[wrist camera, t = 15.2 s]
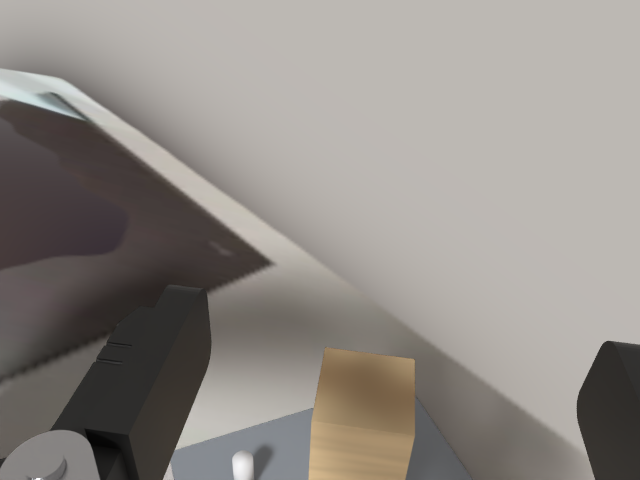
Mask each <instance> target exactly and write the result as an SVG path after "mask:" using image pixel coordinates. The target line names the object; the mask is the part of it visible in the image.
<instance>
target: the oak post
mask: <svg viewBox="0 0 640 480" xmlns="http://www.w3.org/2000/svg"><path fill="white" fill-rule="evenodd" d="M414 438H415V359H410V358H402V357H395V356H387V355H380V354H372V353H364V352H357V351H349V350H342V349H334V348H327V347H325V351H324V356H323V361H322V367H321V372H320V377H319V383H318V388H317V394H316V399H315V404H314V410H313V415H312V420H311V440H310V460H309V480H405V478H406V474H407V469H408V465H409V460H410V456H411V451H412V447H413V442H414Z"/></svg>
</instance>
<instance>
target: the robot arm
mask: <svg viewBox="0 0 640 480" xmlns="http://www.w3.org/2000/svg"><path fill="white" fill-rule="evenodd" d="M210 354H211V332H210V321H209V310H208V300H207V293H206V290H205V289H201V288H193V287H185V286H177V285H168V286H167V287H166V288H165V289H164V291H163V293H162V294H161V296H160V298H159V300H158V301H157V303H156V305H155V307H154V308H152V307H144V306H139V307H138V308H137V309H135V310H134V311H133V312H132V313H130V314H129V315H128V316H126V317H125V318H124V319H123V320H121V321H120V322H119V323H118V325H117V327H116V328H115V330H114V331H113V333H112V334H111V336H110V338H109V339H108V341H107V345H106V346H104V347H103V349H102V350H101V352H100V353H99V355H98V356H97V360H96V362H94V363H93V364H92V366H91V368H90V369H89V371H88V372H87V374H86V375H85V377H84V379H83V380H82V382H81V383H80V385H79V386H78V388H77V390H76V391H75V393H74V394H73V396H72V397H71V399H70V401H69V402H68V404H67V405H66V407H65V408H64V410H63V412H62V413H61V415H60V416H59V418H58V419H57V421H56V423H55V424H54V425H53V427H52V428H51V429H50V430H49V431H48V432H45V433H42V434H39V435H36V436H34V437H32V438H30V439H28V440H27V441H25V442H24V443H22V444H21V445H19V446H18V447H17V448H16V449H15V450H14V451H13V452H11V454H10V455H9V456H8V457H6V458H3V459H0V480H163V478H164V475H165V473H166V470H167V468H168V465H169V463H170V460H171V458H172V455H173V453H174V450H175V448H176V445H177V443H178V440H179V438H180V435H181V433H182V430H183V428H184V425H185V423H186V420H187V418H188V415H189V413H190V410H191V408H192V405H193V403H194V400H195V398H196V395H197V393H198V391H199V388H200V386H201V383H202V381H203V378H204V376H205V373H206V370H207V368H208V364H209V360H210ZM577 419H578V424H579V427H580V431H581V434H582V437H583V441H584V444H585V447H586V451H587V454H588V457H589V461H590V464H591V467H592V471H593V474H594V477H595V480H640V345H637V344H629V343H621V342H614V341H606V342H605V343H603V344H602V346H601V348H600V350H599V352H598V354H597V356H596V358H595V360H594V362H593V364H592V367H591V368H590V370H589V373H588V375H587V377H586V379H585V381H584V383H583V385H582V387H581V389H580V392H579V395H578V400H577Z"/></svg>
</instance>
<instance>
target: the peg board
mask: <svg viewBox="0 0 640 480" xmlns="http://www.w3.org/2000/svg"><path fill="white" fill-rule="evenodd" d="M313 410H314V408H311V409H308V410H305V411H301V412H298V413H295V414H292V415H288V416H285V417H282V418H279V419H275V420H272V421H269V422H266V423H262V424H259V425H256V426H252V427H249V428H246V429H243V430H239V431H236V432H233V433H230V434H226V435H223V436H220V437H217V438H213V439H210V440H207V441H204V442H200V443H197V444H194V445H191V446H187V447H184V448H181V449H178V450H174V453H173V455H172V458H171V460H170V462H171V467H172V472H173V477H174V480H309V460H310V440H311V420H312V415H313ZM405 480H473V479H472V478H471V476H470V475H469V474H468V472H467V471H466V469H465V468H464V466H463V465H462V463H461V462H460V460H459V459H458V457H457V456H456V454H455V453H454V452H453V450H452V449H451V447H450V446H449V444H448V443H447V441H446V440H445V438H444V437H443V435H442V434H441V432H440V431H439V430H438V428H437V427H436V425H435V424H434V422H433V421H432V419H431V418H430V416H429V415H428V413H427V412H426V410H425V409H424V407H423V406H422V405H421V403H420V402H419V400H418V399H417V397H416V396H415V438H414V442H413V447H412V451H411V456H410V460H409V465H408V469H407V474H406V478H405Z"/></svg>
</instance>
